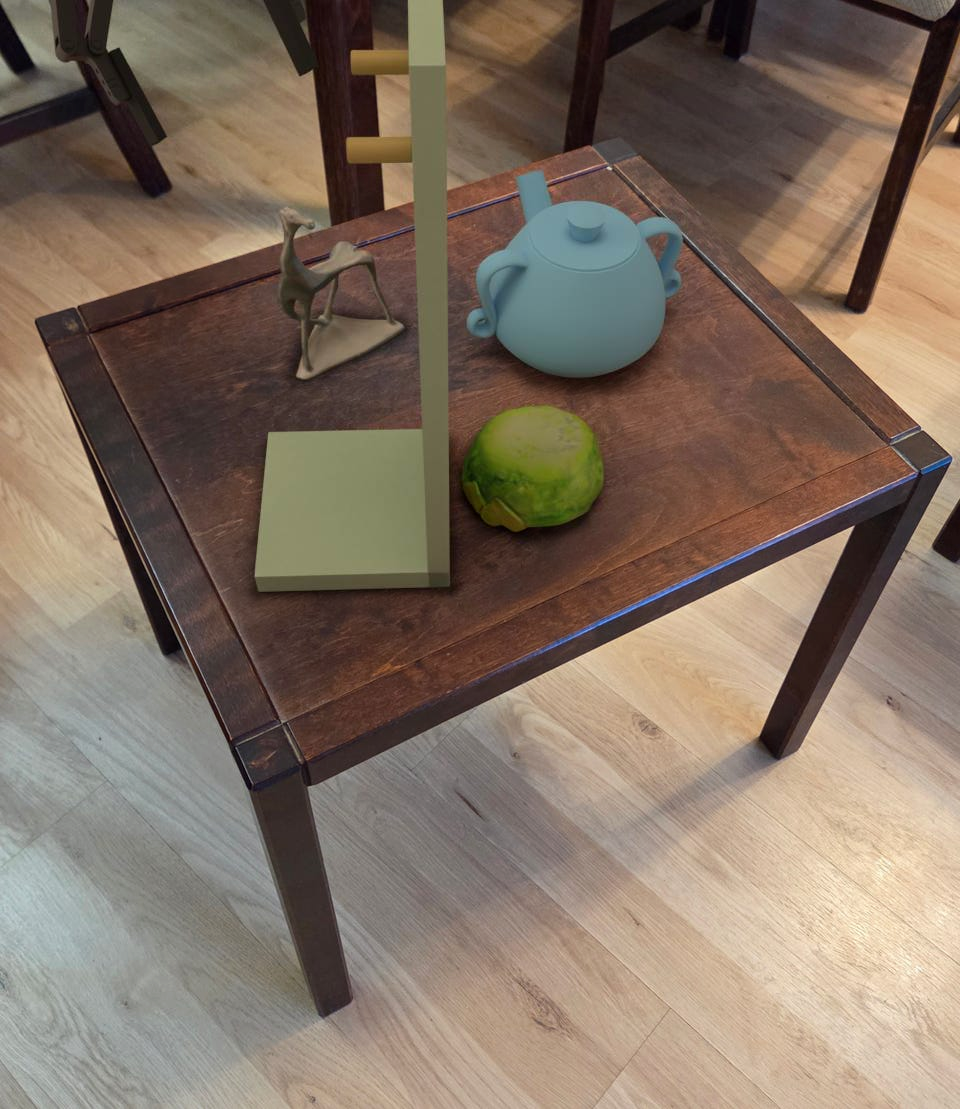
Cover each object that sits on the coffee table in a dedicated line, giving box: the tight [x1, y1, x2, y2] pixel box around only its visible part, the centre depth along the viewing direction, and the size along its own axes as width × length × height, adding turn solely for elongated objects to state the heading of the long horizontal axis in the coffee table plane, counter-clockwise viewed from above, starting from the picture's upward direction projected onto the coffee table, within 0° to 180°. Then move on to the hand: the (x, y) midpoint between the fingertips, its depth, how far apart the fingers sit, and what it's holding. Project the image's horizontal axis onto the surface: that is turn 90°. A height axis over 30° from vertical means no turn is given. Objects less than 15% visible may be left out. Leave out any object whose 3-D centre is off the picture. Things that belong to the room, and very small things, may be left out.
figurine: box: [276, 205, 405, 381], centre depth 87 cm, size 11×6×15 cm, turn 123°
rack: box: [254, 0, 451, 593], centre depth 65 cm, size 14×14×40 cm
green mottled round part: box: [461, 404, 605, 533], centre depth 82 cm, size 12×11×5 cm
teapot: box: [466, 169, 684, 379], centre depth 90 cm, size 20×20×13 cm
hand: (236, 106), depth 81 cm, fingers open, 13 cm apart
